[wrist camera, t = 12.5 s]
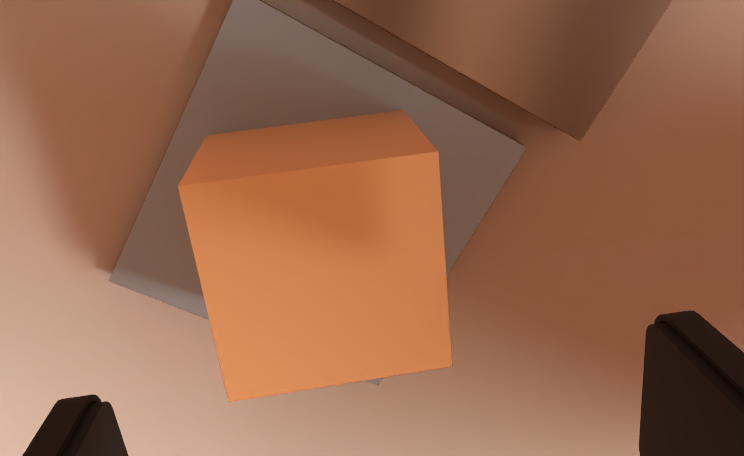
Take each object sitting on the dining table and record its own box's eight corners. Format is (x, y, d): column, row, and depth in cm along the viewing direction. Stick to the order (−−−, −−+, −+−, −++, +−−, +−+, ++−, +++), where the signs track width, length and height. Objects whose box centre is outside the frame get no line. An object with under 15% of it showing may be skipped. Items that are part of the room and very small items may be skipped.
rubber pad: (520, 143, 20) (526, 147, 20) (376, 375, 23) (378, 385, 23) (239, -12, 18) (237, -12, 17) (113, 272, 20) (108, 281, 20)
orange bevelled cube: (402, 110, 19) (438, 151, 14) (417, 282, 21) (452, 366, 17) (206, 135, 18) (177, 186, 14) (242, 308, 21) (228, 401, 16)
